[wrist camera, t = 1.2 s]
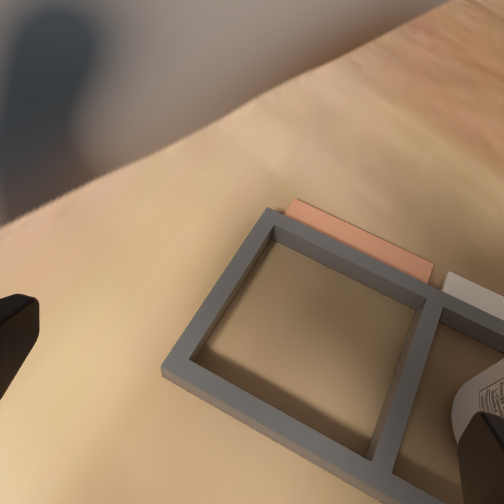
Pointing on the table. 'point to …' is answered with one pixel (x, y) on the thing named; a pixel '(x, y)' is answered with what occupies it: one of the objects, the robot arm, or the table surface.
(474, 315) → the grey divided frame
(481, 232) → the table surface
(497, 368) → the energy drink can
